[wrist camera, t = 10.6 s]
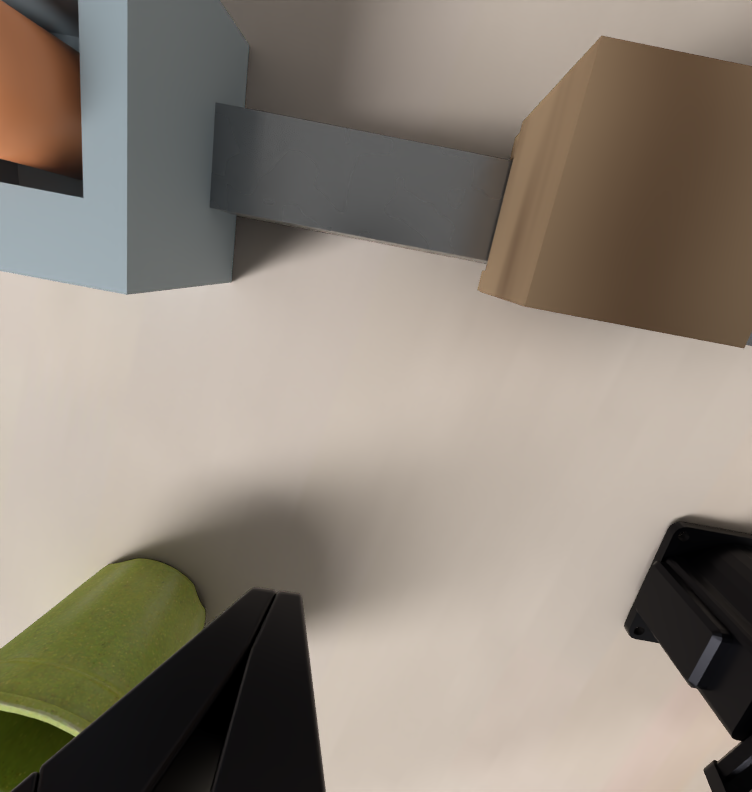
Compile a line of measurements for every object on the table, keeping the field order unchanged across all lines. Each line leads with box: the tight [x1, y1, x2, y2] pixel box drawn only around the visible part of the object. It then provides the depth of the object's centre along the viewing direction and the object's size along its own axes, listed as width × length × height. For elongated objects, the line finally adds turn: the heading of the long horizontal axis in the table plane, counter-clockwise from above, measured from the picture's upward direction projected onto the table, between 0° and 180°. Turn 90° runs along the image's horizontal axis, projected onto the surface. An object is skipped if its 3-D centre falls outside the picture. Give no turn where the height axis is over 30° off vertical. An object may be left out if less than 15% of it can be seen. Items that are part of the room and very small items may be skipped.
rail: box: [210, 102, 752, 346], centre depth 14 cm, size 18×5×5 cm, turn 80°
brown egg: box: [0, 0, 83, 180], centre depth 10 cm, size 3×3×4 cm
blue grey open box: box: [0, 0, 249, 295], centre depth 12 cm, size 6×8×7 cm
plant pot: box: [0, 558, 206, 792], centre depth 18 cm, size 9×9×9 cm
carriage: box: [478, 36, 752, 348], centre depth 12 cm, size 5×5×6 cm
